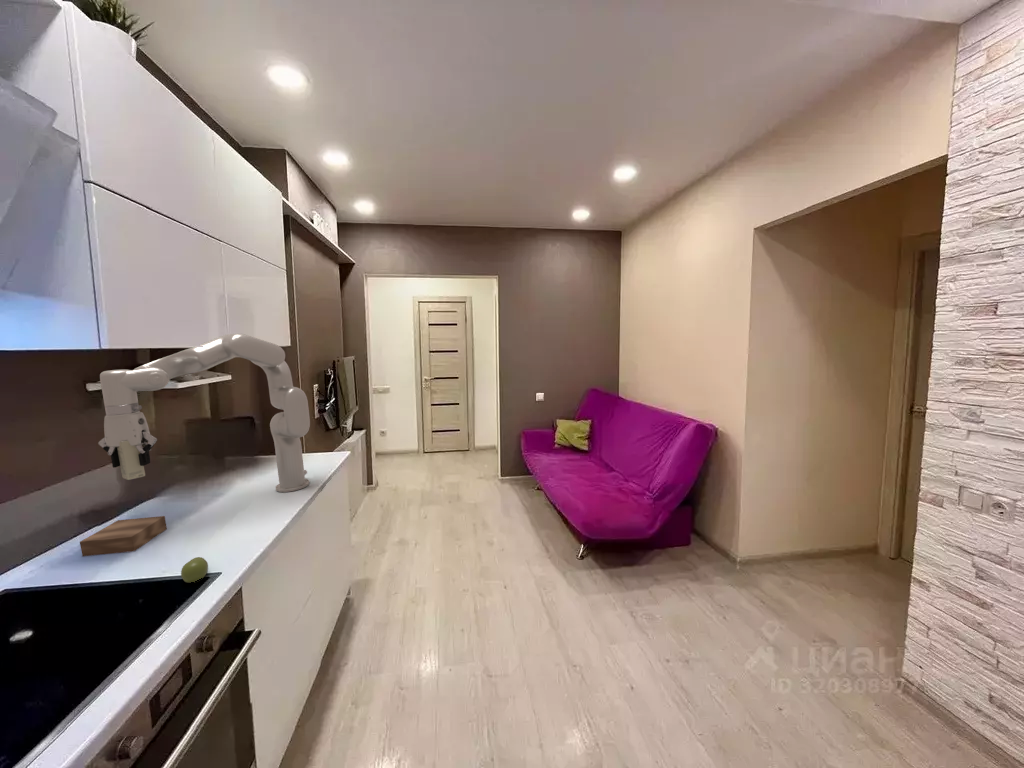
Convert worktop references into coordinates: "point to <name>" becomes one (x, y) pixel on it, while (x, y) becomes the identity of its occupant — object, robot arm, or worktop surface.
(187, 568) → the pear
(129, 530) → the walnut block
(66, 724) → the worktop surface
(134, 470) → the skincare box
